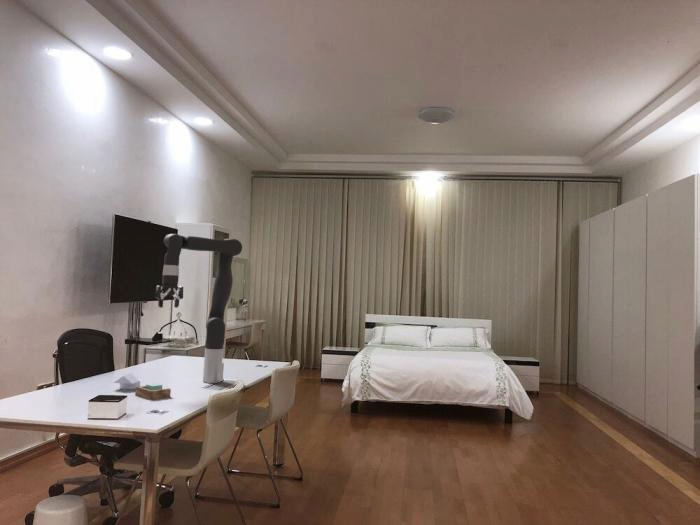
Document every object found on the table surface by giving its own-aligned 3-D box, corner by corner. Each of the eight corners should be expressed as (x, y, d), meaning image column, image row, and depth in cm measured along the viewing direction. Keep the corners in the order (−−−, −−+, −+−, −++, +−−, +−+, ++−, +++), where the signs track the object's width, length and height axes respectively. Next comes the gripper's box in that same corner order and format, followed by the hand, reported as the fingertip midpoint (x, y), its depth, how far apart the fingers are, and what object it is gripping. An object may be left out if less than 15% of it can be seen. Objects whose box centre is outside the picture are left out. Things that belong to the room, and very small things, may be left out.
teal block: (155, 394, 252) (156, 383, 252) (161, 396, 249) (162, 385, 249) (145, 395, 248) (146, 384, 248) (151, 397, 245) (152, 386, 245)
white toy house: (132, 391, 256) (142, 386, 269) (133, 376, 256) (143, 372, 269) (112, 390, 256) (124, 385, 269) (113, 375, 256) (125, 371, 269)
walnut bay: (154, 392, 255) (155, 384, 255) (170, 397, 248) (170, 388, 248) (135, 395, 248) (135, 386, 248) (150, 399, 240) (150, 391, 240)
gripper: (178, 274, 282) (176, 307, 281) (153, 273, 271) (151, 306, 270) (187, 275, 277) (185, 308, 277) (162, 273, 266) (159, 308, 266)
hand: (168, 307), depth 273 cm, fingers open, 8 cm apart
